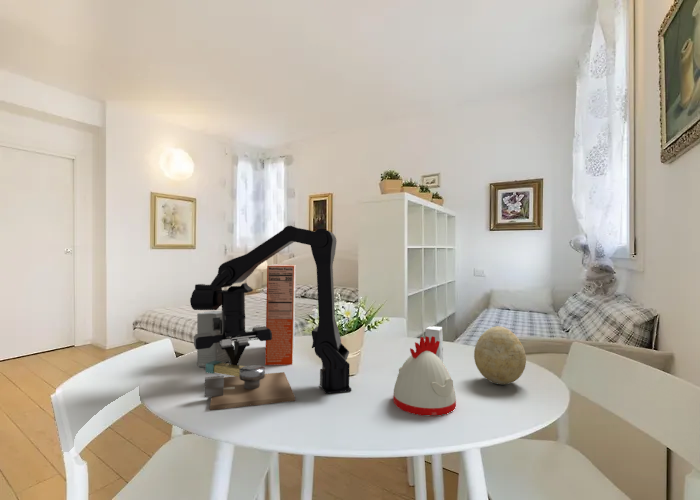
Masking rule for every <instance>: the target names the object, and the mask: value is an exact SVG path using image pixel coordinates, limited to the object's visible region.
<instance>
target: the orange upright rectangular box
mask: <svg viewBox="0 0 700 500" xmlns="http://www.w3.org/2000/svg"><path fill="white" fill-rule="evenodd" d="M266 267H267V268H266V302H265V303H266V310H265V315H266V316H265V327H267V328H269V329H270V330H271V332H272V340H266V341H265V353H264V354H265V361H264V365H265V366H283V365H284V366H289V365H291V366H292V365H293V361H294V354H295V353H294V351H295V330H296V329H295V327H296V326H295V323H296V322H295V320H296V317H295V316H296V314H295V313H296V311H295V310H296V271H297V270H296V267H297V265H296V264H284V263H283V264H282V263H281V264H277V263H275V264H269V265H267V266H266Z"/></svg>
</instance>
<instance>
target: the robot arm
mask: <svg viewBox="0 0 700 500" xmlns="http://www.w3.org/2000/svg"><path fill="white" fill-rule="evenodd" d="M293 243H299V244H303V245H308V246H310V249H311V253H312V257H313V261H314V262H315V268H316V284H317V285H316V287H317V288H316V289H317V305H318V310H317V311H318V325H317V326H316V327H315V328H313V329H312V330H311V337H312V345H311V349H314V354H315V355H316V356H317V357H318V358H319V359H320V360H321V363H322V364H321V365H322V366H321V368H320V370H319V386H320V387H321V389H323V392H325V394H335V393H344V392H352V387H351V386H350V363H349V362H348V361H347V359H348V357H349V354H350V351H349V349H347V347H346V346H344V344H342V338H341V335H340V330H339V327H338V323H337V321H336V314H335V313H336V311H335V294H334V293H335V291H334V290H335V289H334V288H335V287H334V269H333V268H334V267H333V266H334V261H335V260H334V259H335V255H336V249H337V237H336V235H335V234H334V233H333V232H331V231H330V230H328V229H325V228H317V229H315V230H309V229H305V228H300V227H297V226H293V225H286V226H284V228H283V229H282V230H281V231H279V232H277V233H276V234H274V235H273V236H271V237H270V238H269V239H267V240H265V241H264V242H262V243H260V245H258V246H256V247H254V248H253V249H252V250H250V251H249V252H248V253H245V254H243V255H240V256H238V257H234V258H232V259H230V260H227V261H225V262H223V263H222V264H220V265H219V267H218V268H217V269H218V271H217V274H216V276H215V277H214V279H213V280H212V282H211V283H210V284H205V283H198V284H197V283H196V284H195V285H194V289H193V291H192V293H191V297H190V299H189V301H190V306H191V308H192V310H194V311H218V310H219V309H220V307H221V311H222V319H221V320H220V317H218V318H213V319H212V328H213V331H214V330H220V334H222V335H214V336H213V335H212V334H211V333H210V332H209V333H200V334H197V333H196V334H195V335H194V336H193V346H194V348H195V350H197V349H206V348H210V347H211V346H212V345H213V343H218V344H219V347H220V348H221V349H222V350H224V349H225V350H226V352H227V354H228V357H229V360H230V361H229V362H230V364H233V365H239V363H240V360H241V358H242V355H243V354H244V351H245V350H246V348H247V347H249V346H250V343H249V339H250V340H251V339H257V340H259V341H260V342H266V340H272V332H271V330H270V329H269V328H267V327H266V325H263V326H256V327H252V328H251V330H250V331H246V302H245V301H246V300H245V299H246V297H245V296H246V295H245V294H247V293H252V292H253V291H254V289H253V288H252V287H251V286H249V284H248V283H247V282H244V281H245V280H246V279H248V278H249V277H250V276H251V275H252V274H253V272H254V271H255V270H256V269H257V268H258V267H259V266H260V265H261V264H263V263H264V262H266V261H267V260H269V259H270V258H272V257H273V256H275V255H276V254H278V253H280V252H281V251H282V250H285V249H286V248H287V247H288V246H289V247H290V245H292V244H293ZM242 282H244V283H242ZM234 284H241V285H234ZM223 288H227V289H223ZM228 337H230V338H228ZM233 343H234V344H233Z"/></svg>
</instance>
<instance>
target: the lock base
mask: <svg viewBox="0 0 700 500" xmlns="http://www.w3.org/2000/svg"><path fill="white" fill-rule="evenodd" d="M203 393H204V394H203V398H210V405H209V410H210V411H213V410H215V411H216V410H222V409H223V410H224V409H232V408H233V409H234V408H243V407H251V406H261V405H268V404H277V403H287V402H295V401H296V396H295V393H294V391H293V389H292V386H291V385H290V382H289V380H288V377H287V376H286V373H285V371H282V372H271V373H265V377H264V378H263V379H261V380H257V381H242V380H240V379H239V377H238V376H225V375H217V376H205V377H204V392H203Z"/></svg>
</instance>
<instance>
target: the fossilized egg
mask: <svg viewBox="0 0 700 500" xmlns="http://www.w3.org/2000/svg"><path fill="white" fill-rule="evenodd" d="M473 358H474V363H475V366H476V368H477V370H478V371H479V373H480V374H481V375H482V377H483V378H485V379H486V380H488V381H489V382H491V383H493V384H496V383H498V384H497V385H508V384H512V383H514V382H515V381H517V380H519V378H520V377H521V376H522V375H523V373H524V371H525V369H526V365H527V355H526V351H525V347H524V346H523V344H522V343H521V341H520V339H519V337H517V335H516V334H515V333H514V332H513V331H512V330H510V329H509V328H507V327H504V326H501V325H497V326H492V327H490V328H488V329H486V330H485V331H484V332H483V333H482V334H481V335H480V337H479V338H478V339H477V342H476V343H475V346H474V352H473Z"/></svg>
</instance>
